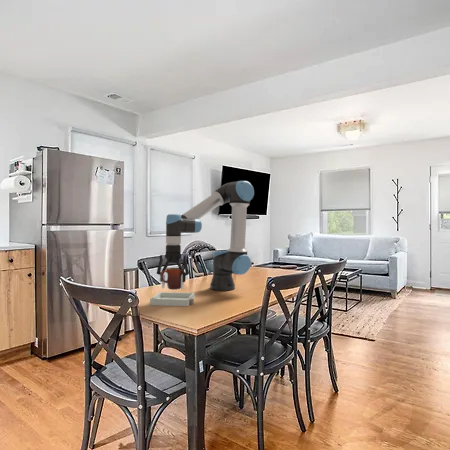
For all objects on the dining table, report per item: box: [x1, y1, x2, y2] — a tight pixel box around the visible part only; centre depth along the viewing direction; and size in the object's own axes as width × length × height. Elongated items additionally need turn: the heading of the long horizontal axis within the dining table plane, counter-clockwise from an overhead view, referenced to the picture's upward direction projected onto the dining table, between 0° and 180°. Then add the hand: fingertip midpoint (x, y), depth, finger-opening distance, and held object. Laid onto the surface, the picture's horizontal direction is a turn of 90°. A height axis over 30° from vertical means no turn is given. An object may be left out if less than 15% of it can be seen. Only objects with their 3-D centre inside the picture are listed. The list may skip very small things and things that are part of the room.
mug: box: [159, 267, 183, 290], centre depth 182 cm, size 12×9×10 cm
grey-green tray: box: [149, 291, 195, 307], centre depth 182 cm, size 21×17×3 cm
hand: (172, 288), depth 182 cm, fingers closed on mug, 9 cm apart
